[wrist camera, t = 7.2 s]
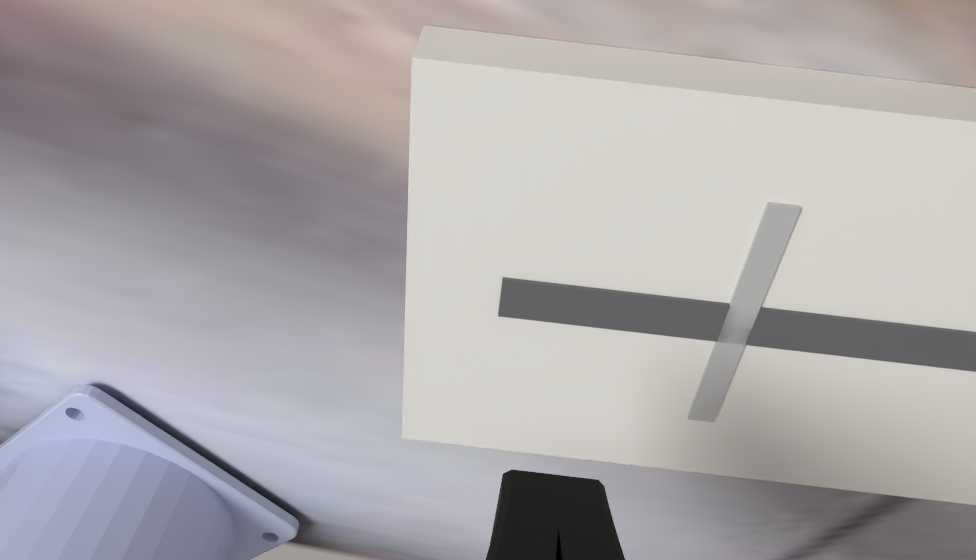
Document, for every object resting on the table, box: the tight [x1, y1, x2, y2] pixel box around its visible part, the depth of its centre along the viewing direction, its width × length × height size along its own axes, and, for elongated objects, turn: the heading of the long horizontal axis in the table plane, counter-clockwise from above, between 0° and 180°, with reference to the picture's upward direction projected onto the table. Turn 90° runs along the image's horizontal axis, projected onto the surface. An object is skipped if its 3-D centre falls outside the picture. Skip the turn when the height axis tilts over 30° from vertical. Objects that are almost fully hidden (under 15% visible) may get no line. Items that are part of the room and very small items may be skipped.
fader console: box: [402, 25, 976, 505], centre depth 17 cm, size 22×10×2 cm, turn 85°
